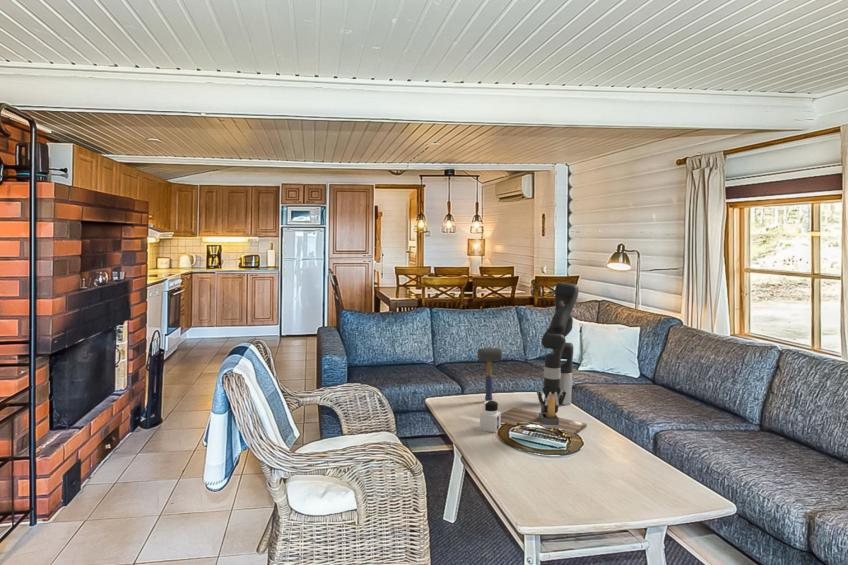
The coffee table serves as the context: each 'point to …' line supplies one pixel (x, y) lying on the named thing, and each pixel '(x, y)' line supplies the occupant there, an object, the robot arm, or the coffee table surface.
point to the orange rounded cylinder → (551, 407)
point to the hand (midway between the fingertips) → (550, 412)
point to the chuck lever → (547, 420)
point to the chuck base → (521, 415)
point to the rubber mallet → (489, 366)
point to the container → (490, 417)
